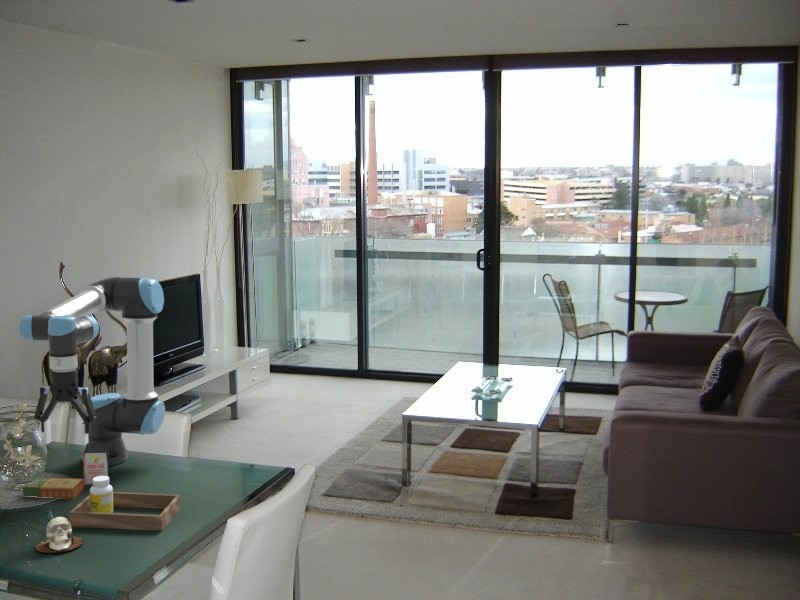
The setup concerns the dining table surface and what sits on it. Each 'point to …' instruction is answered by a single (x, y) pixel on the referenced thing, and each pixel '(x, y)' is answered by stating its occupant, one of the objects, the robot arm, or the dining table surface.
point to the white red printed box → (94, 466)
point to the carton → (55, 488)
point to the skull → (59, 537)
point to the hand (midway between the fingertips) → (66, 443)
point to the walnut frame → (128, 521)
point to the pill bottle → (101, 495)
